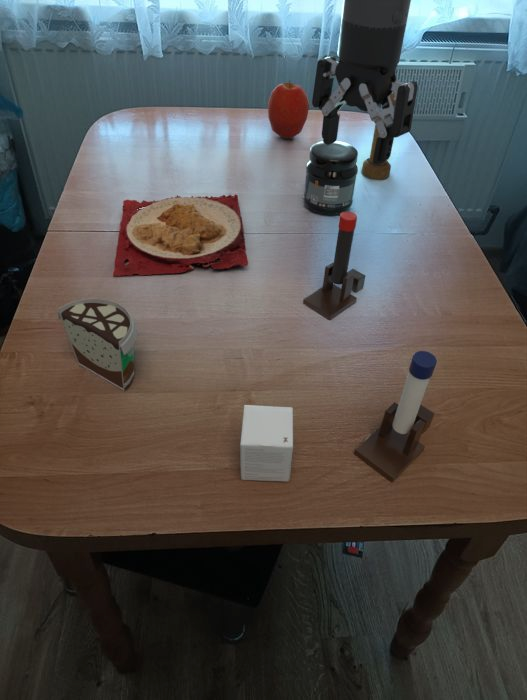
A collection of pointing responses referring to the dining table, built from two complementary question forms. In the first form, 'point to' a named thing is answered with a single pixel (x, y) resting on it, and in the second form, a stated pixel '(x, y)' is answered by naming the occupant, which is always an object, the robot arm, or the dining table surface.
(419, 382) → the white marker
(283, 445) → the product box
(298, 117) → the apple
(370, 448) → the white marker stand
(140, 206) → the plate with food
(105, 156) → the dining table surface
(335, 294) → the black marker stand
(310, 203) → the supplement container
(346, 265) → the black marker
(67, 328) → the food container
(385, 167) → the mortar and pestle
